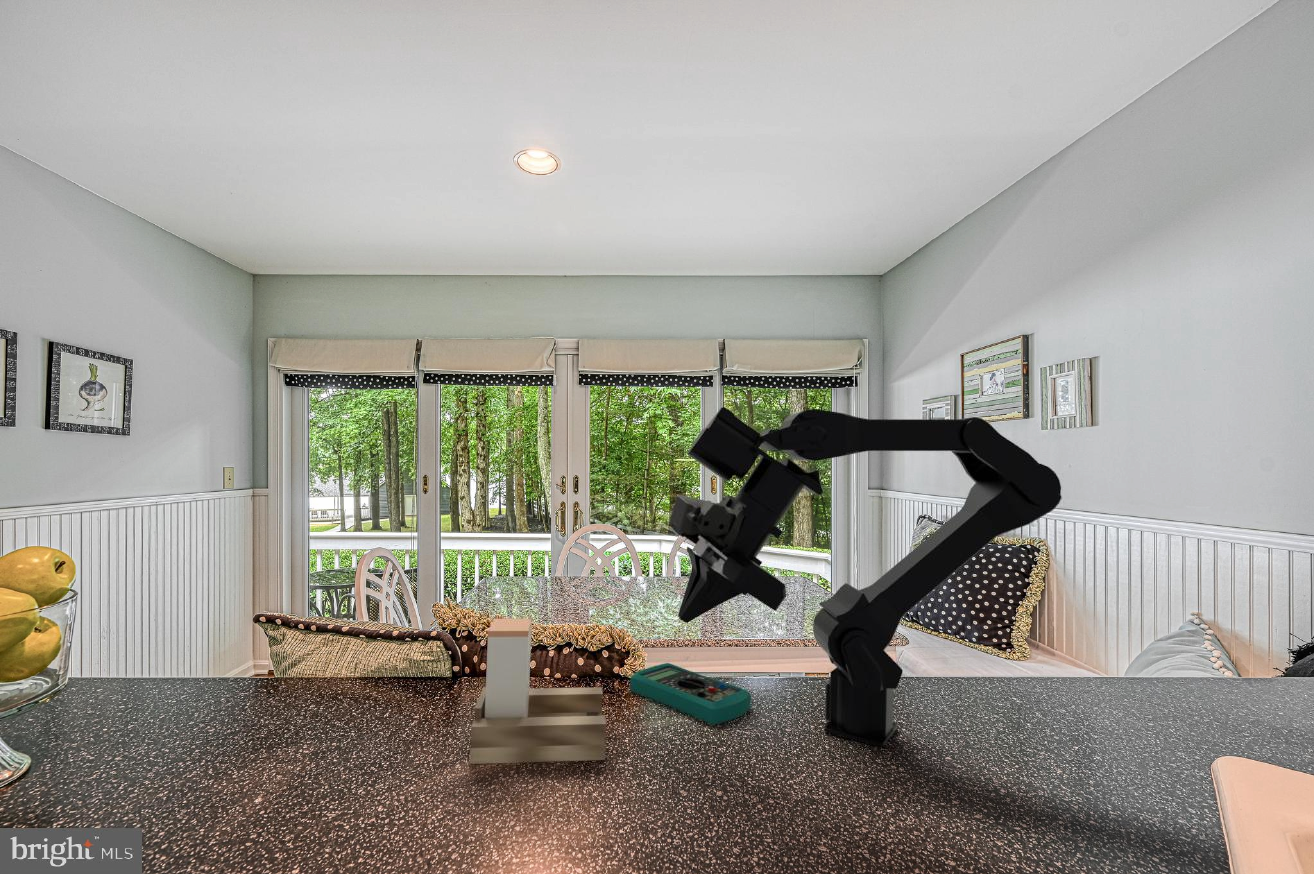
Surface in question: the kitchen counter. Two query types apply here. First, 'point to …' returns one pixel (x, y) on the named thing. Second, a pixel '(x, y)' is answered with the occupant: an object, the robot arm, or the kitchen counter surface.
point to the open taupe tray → (543, 729)
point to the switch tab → (508, 668)
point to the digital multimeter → (691, 693)
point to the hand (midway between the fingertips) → (682, 619)
